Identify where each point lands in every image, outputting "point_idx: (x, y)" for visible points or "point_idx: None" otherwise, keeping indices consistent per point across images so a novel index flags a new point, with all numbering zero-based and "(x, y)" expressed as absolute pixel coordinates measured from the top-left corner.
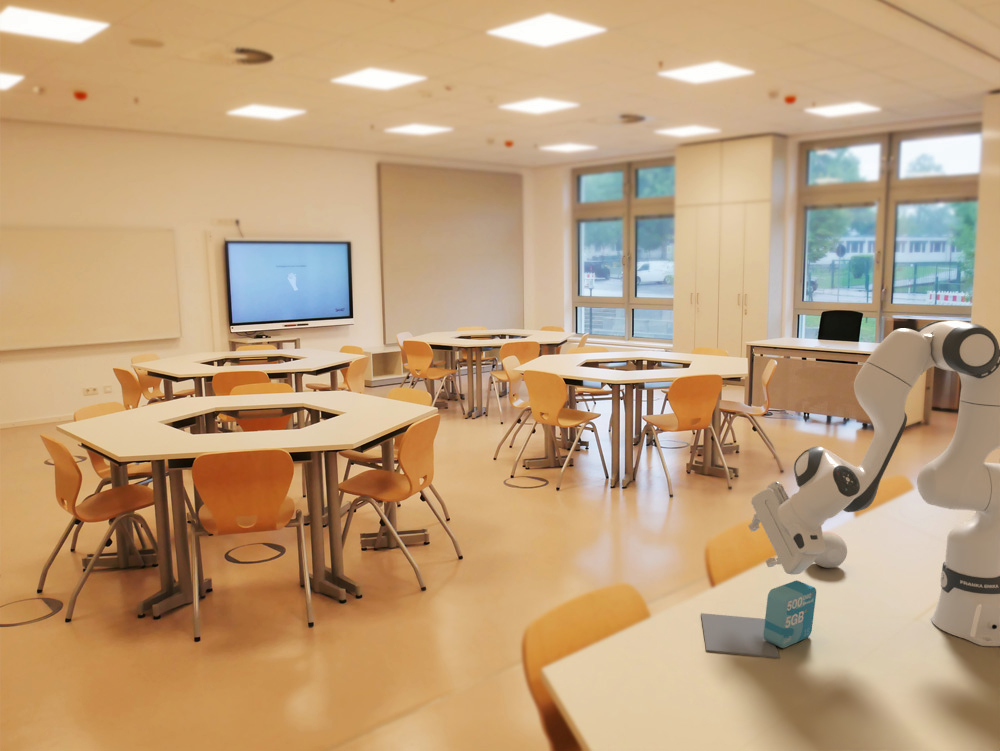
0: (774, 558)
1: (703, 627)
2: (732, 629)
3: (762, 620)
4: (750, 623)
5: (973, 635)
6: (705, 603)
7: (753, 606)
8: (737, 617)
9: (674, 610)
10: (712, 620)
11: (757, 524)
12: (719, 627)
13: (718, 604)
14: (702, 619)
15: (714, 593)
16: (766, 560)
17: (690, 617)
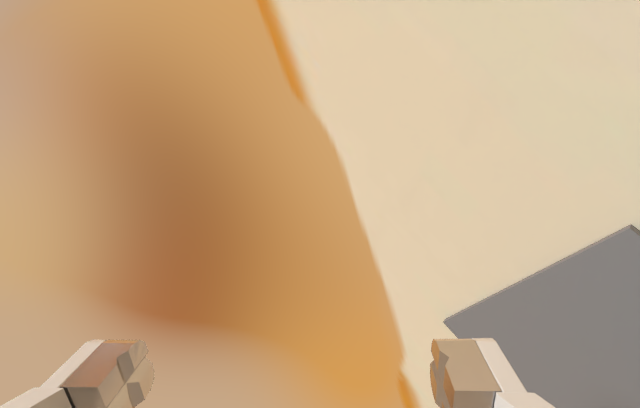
0: (461, 394)
1: None
2: (593, 386)
3: (624, 256)
4: (605, 311)
5: None
6: (396, 250)
7: (477, 151)
8: (526, 291)
9: (400, 327)
10: None
11: (66, 403)
12: (549, 387)
13: (413, 231)
14: None
15: (356, 178)
16: (438, 403)
17: None
